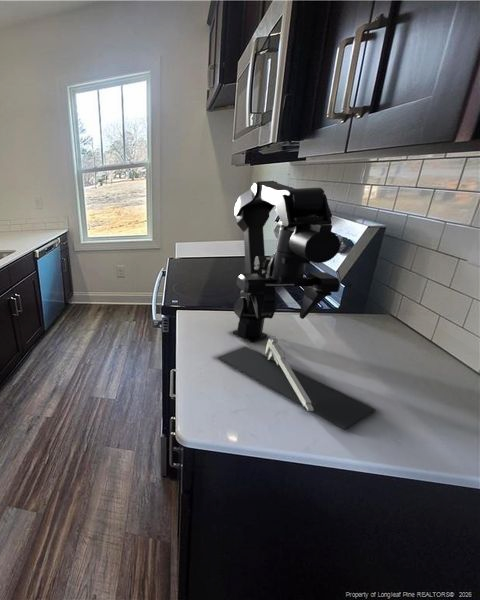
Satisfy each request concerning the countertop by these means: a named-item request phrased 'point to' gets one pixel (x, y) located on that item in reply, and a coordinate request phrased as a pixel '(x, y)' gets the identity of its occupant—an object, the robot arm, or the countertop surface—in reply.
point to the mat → (321, 396)
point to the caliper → (287, 371)
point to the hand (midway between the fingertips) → (279, 318)
